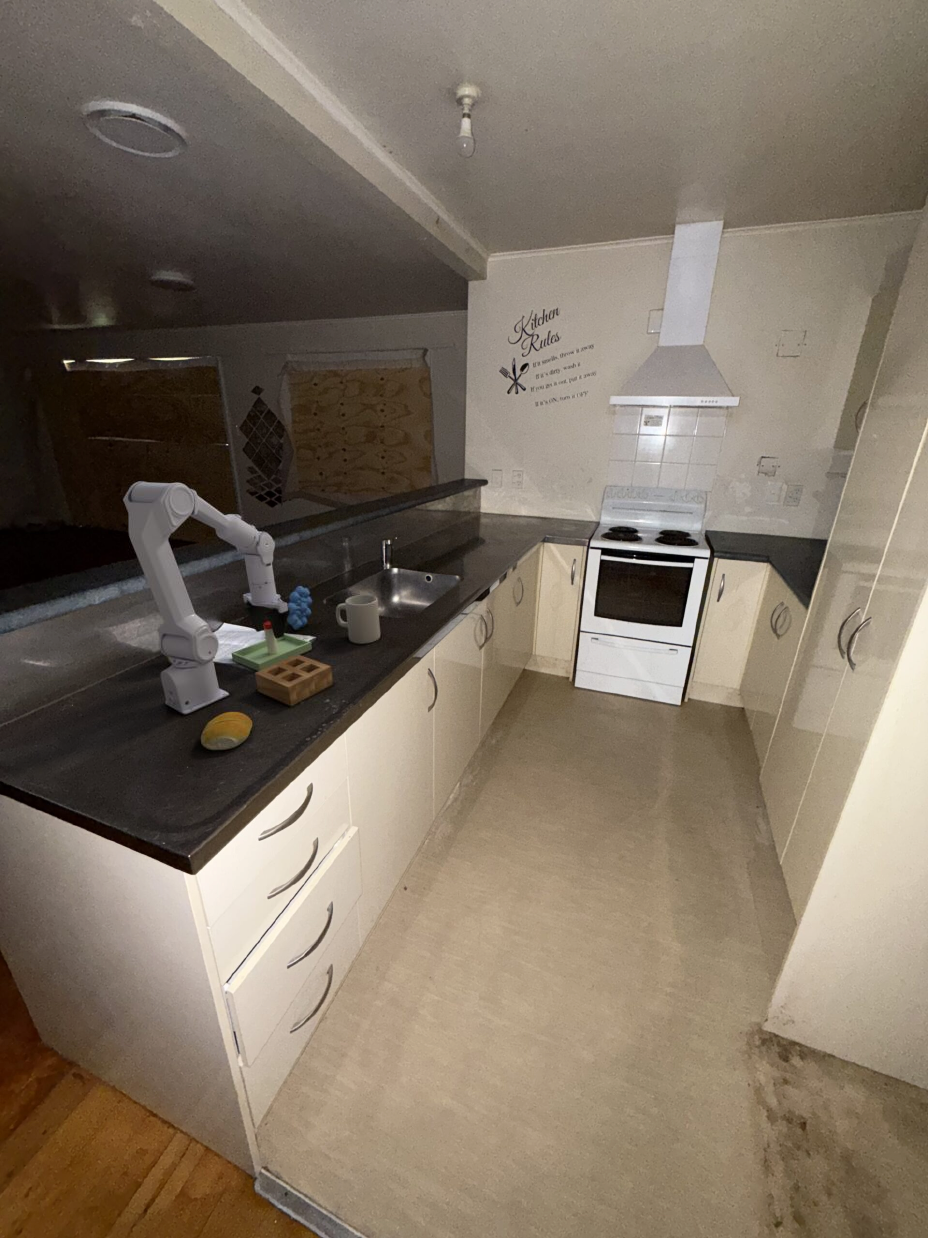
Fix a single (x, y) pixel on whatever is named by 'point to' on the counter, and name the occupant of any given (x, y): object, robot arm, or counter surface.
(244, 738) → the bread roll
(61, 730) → the counter surface
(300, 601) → the grapes
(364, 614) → the mug
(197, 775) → the counter surface
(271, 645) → the marker
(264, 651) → the tray
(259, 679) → the pen holder
